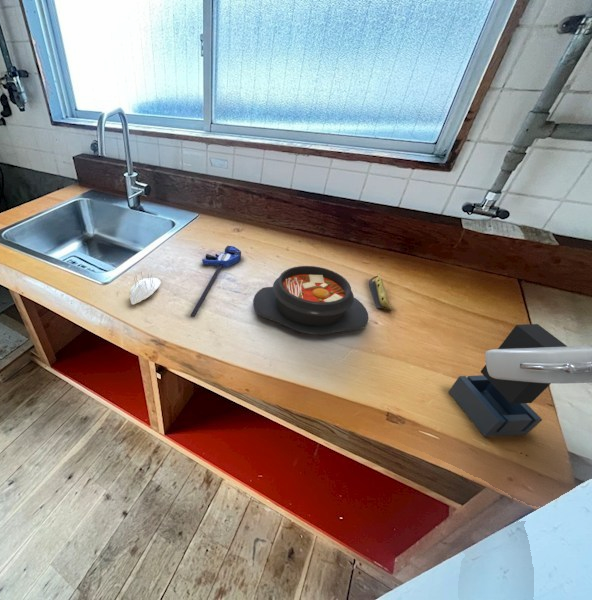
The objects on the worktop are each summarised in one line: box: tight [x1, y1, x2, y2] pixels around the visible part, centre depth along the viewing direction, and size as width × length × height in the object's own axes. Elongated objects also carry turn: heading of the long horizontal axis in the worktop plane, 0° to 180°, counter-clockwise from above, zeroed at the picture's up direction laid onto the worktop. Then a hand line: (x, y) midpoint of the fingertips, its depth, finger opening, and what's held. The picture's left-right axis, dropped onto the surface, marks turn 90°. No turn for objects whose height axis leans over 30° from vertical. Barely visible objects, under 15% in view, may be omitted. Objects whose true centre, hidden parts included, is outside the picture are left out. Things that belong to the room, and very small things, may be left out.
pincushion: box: [129, 271, 162, 306], centre depth 81 cm, size 12×6×6 cm, turn 153°
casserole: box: [252, 265, 369, 336], centre depth 72 cm, size 25×19×8 cm
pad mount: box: [448, 374, 543, 438], centre depth 51 cm, size 8×6×4 cm
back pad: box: [480, 323, 569, 404], centre depth 46 cm, size 6×3×10 cm, turn 1°
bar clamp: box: [190, 245, 242, 317], centre depth 86 cm, size 32×2×10 cm
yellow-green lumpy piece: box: [368, 275, 392, 311], centre depth 78 cm, size 3×14×3 cm
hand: (522, 359), depth 46 cm, fingers closed on back pad, 3 cm apart
